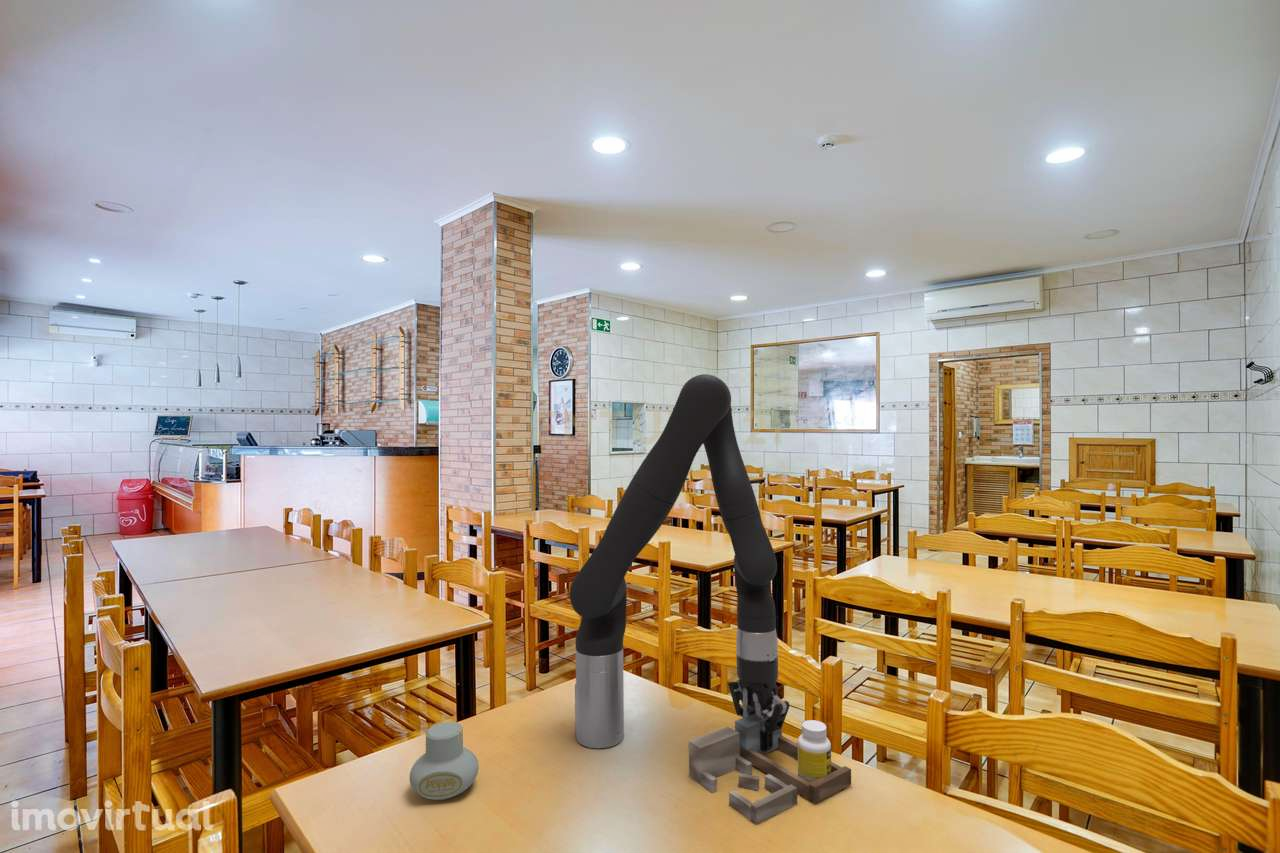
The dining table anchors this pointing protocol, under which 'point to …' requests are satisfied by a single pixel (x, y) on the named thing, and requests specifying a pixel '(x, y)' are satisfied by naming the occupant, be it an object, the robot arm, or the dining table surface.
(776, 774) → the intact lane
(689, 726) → the dining table surface
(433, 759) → the air freshener
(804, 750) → the supplement bottle
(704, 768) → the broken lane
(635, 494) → the robot arm
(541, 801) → the dining table surface
